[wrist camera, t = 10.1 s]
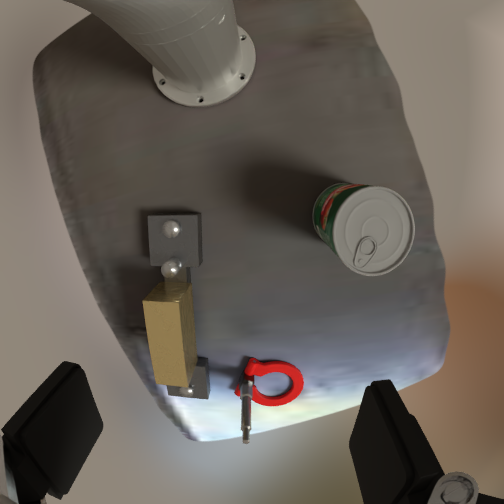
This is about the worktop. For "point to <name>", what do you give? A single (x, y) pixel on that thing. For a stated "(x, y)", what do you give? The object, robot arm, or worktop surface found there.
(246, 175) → the worktop surface
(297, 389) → the tow hook
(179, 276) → the grey plate with studs
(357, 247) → the canned tomato
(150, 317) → the tan cork brick
